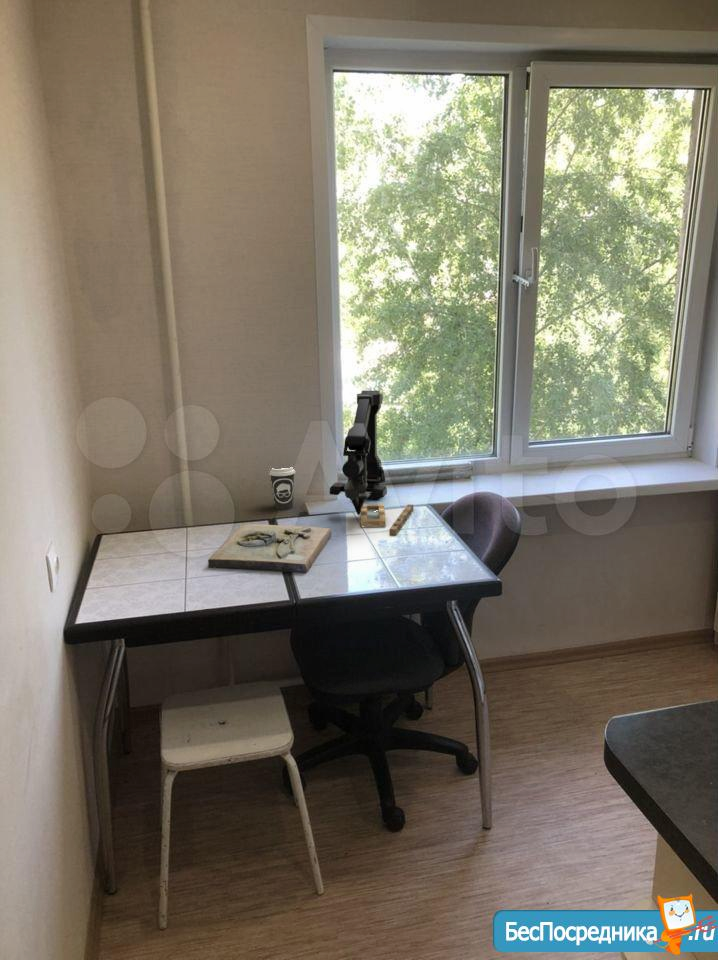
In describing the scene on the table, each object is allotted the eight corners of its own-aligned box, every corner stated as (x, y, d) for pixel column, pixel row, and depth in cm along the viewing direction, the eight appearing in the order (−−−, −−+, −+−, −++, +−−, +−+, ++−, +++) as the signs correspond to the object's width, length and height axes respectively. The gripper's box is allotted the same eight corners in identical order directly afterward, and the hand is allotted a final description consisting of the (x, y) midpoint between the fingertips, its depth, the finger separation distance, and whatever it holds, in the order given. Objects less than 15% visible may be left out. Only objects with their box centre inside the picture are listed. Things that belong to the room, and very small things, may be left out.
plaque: (241, 513, 236) (331, 516, 230) (243, 533, 238) (332, 537, 232) (203, 548, 208) (305, 553, 202) (206, 571, 210) (306, 577, 204)
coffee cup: (302, 505, 264) (300, 465, 260) (286, 513, 256) (283, 471, 252) (281, 501, 269) (279, 462, 265) (264, 509, 261) (262, 468, 257)
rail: (407, 509, 256) (407, 502, 255) (413, 510, 255) (413, 502, 255) (389, 535, 232) (389, 526, 231) (395, 535, 232) (395, 527, 231)
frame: (361, 510, 257) (361, 504, 256) (384, 509, 257) (384, 504, 256) (361, 527, 240) (360, 521, 239) (385, 526, 240) (385, 521, 239)
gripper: (323, 474, 240) (324, 519, 244) (378, 478, 235) (378, 524, 239) (334, 466, 250) (335, 509, 255) (387, 469, 245) (387, 513, 249)
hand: (358, 514), depth 249 cm, fingers closed
